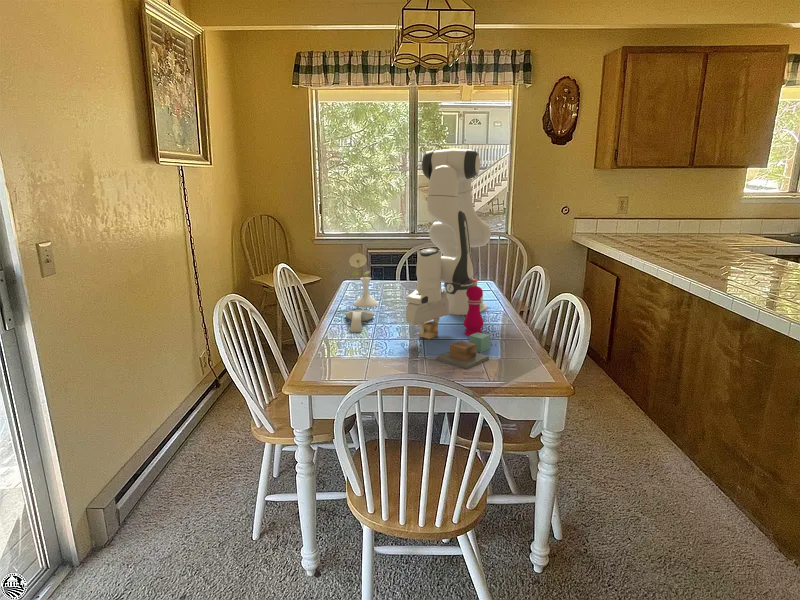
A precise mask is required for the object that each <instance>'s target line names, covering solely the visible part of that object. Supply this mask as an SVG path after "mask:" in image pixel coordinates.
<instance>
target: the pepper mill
mask: <svg viewBox="0 0 800 600" xmlns="http://www.w3.org/2000/svg"><path fill="white" fill-rule="evenodd" d="M472 285H473V286H471V287H469V288H468V289H467V292H466V295H467V297H468V298H469V299H468V302H467V303H468V304H469V309H468V313H467V315H465V317H464V319H463V326H464V328H465V329H464V335H465V336H467V337H468V338H469V335H472V334H474V333H477V332H479V333H483V331H482V330H483V329H482V328H483V327H484V320H483V316H482V314H481V313H482V312H480V304H481V297H482V296H484V291H483V289H482V288H481V287H480V286H478V282H477V283H476V282H473V284H472Z"/></svg>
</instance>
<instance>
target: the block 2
mask: <svg viewBox="0 0 800 600" xmlns="http://www.w3.org/2000/svg"><path fill="white" fill-rule="evenodd" d="M490 339H491V335H489V334H487V333H483V332H482V333H479V332H477V333H474V334H472V335H469V337H468V342H469V343H473V344H476V353H480V354H482V353H483V352H485V351H488V350H490V348H491V347H490V343H491V342H490V341H491V340H490Z"/></svg>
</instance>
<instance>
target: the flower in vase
mask: <svg viewBox="0 0 800 600" xmlns="http://www.w3.org/2000/svg"><path fill="white" fill-rule="evenodd" d="M348 262H349V264H350V266H351V267H355V268H358V270H353V271H352V272H351V273H350V275H352V276H357V277H358V276H359V275H360V276H362V277H360V278H359V279H360V282H361V283H362V290H363V291H362V295H361V296H360V297H359V298H357V299H356V300H355V301H354V303H353V305H354V306H355V307H358V308H374V307H377V306H379V302H378V300H376V299H374V297H372V296H371V295H370V293H369V284H370V281H372V277H367V276H368V275H369V274H370V273H371V271H372V270H371V269H369V270H367V271H366V272H364V273H363V274H362V272H361V269H360V268H361V267H363V266H365V264H366V263H367V262H368V260H367V257H366V255H365V254H363V253H359V252H358V253H354V254H352V255H351V256H350V257H349V259H348ZM365 276H366V277H365Z"/></svg>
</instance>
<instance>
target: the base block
mask: <svg viewBox="0 0 800 600" xmlns="http://www.w3.org/2000/svg"><path fill="white" fill-rule="evenodd" d="M449 352H450V353H449V357H453V358H456V359H459V360H463V361H466V360H468V359H471V358H473V357H475V356H476V353H477V351H476V344H473V343H469V341H466V340H458V341H456V342H454V343H450V344H449Z"/></svg>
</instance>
